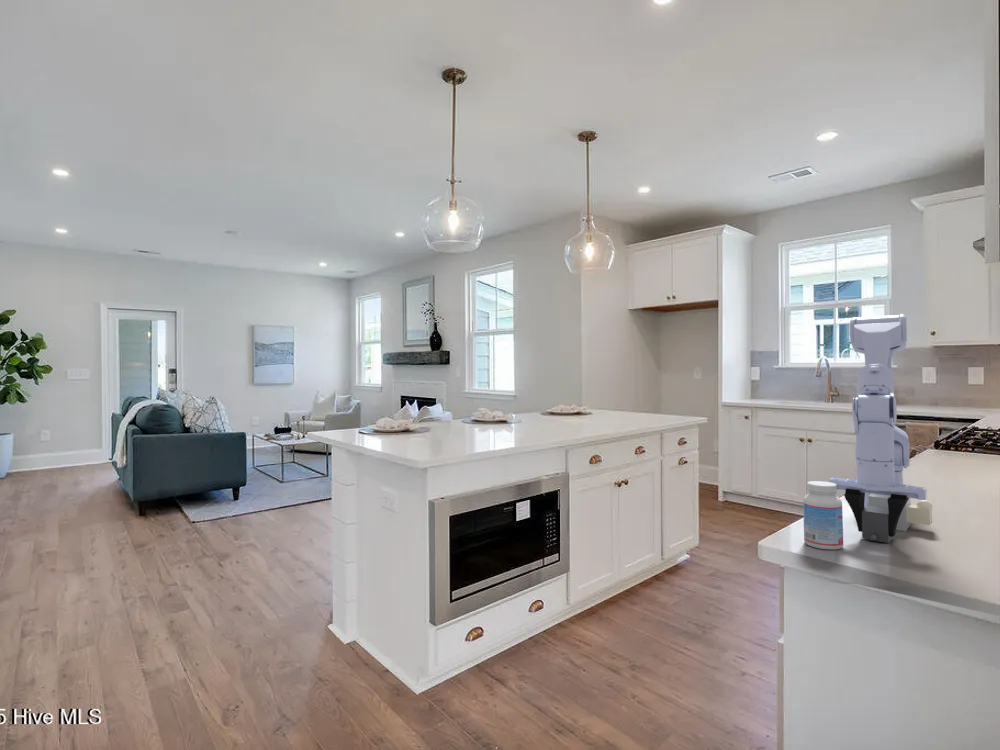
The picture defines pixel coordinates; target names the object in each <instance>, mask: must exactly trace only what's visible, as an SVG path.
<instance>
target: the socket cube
mask: <svg viewBox="0 0 1000 750" xmlns="http://www.w3.org/2000/svg"><path fill="white" fill-rule="evenodd" d="M889 497H891V496H890V495H882V494H874V493H871V494H870V495H869V496H868V502H869V506H876V507H884V508H888V500H887V499H888V498H889ZM909 504H912V503H911V498H909V499H908V501H907V503H906V505H905V507H904V508H903V510H902V513H901V515H900V517H899V520H898V523H897V527H896V531H901V532H902V531H903V532H907V531H908V529H910V527H911V526H912V523H910V522H907V506H908V505H909Z"/></svg>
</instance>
